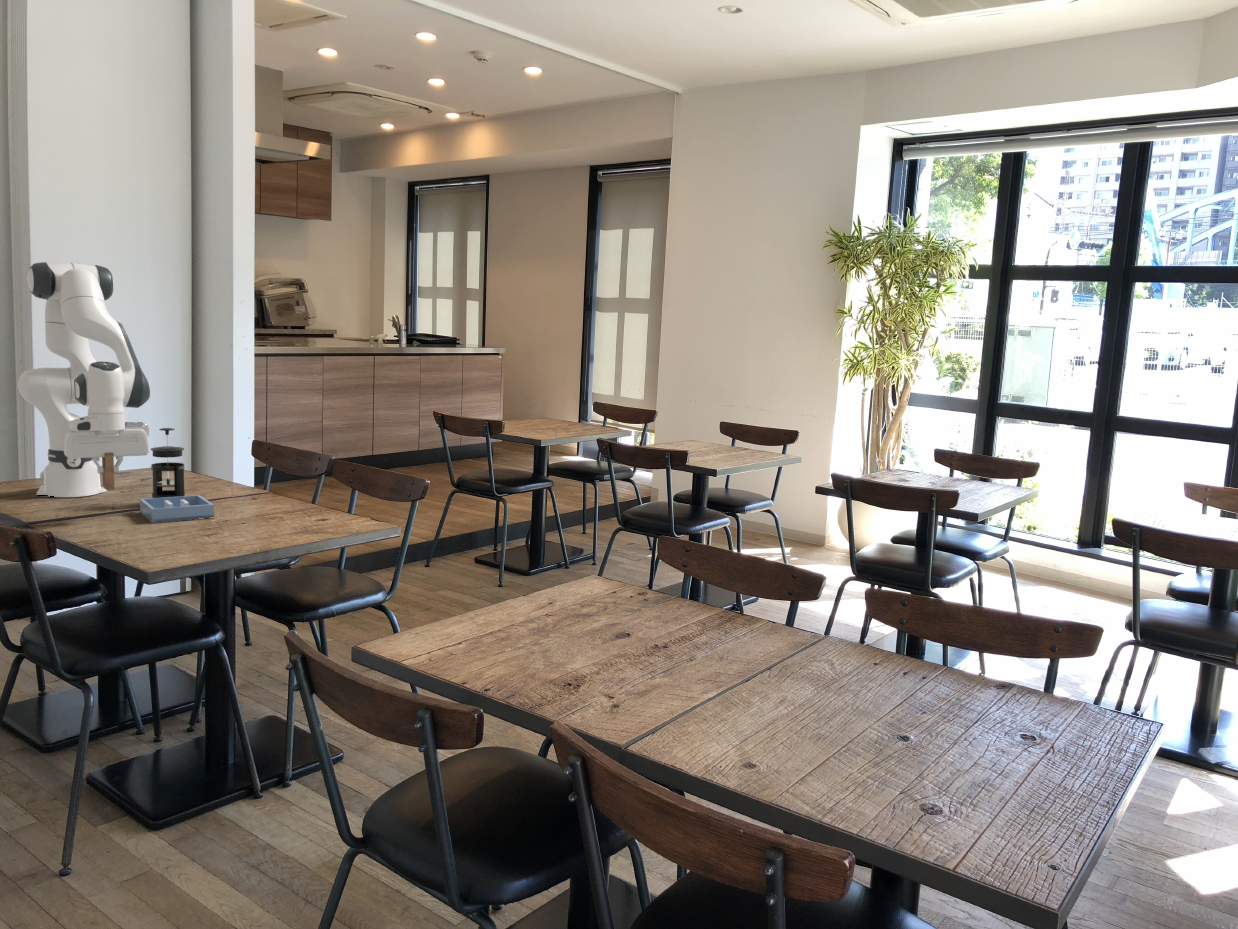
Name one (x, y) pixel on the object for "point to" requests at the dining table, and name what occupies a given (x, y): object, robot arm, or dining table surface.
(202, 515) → the shallow blue crate
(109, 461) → the brown wooden block
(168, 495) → the french press
